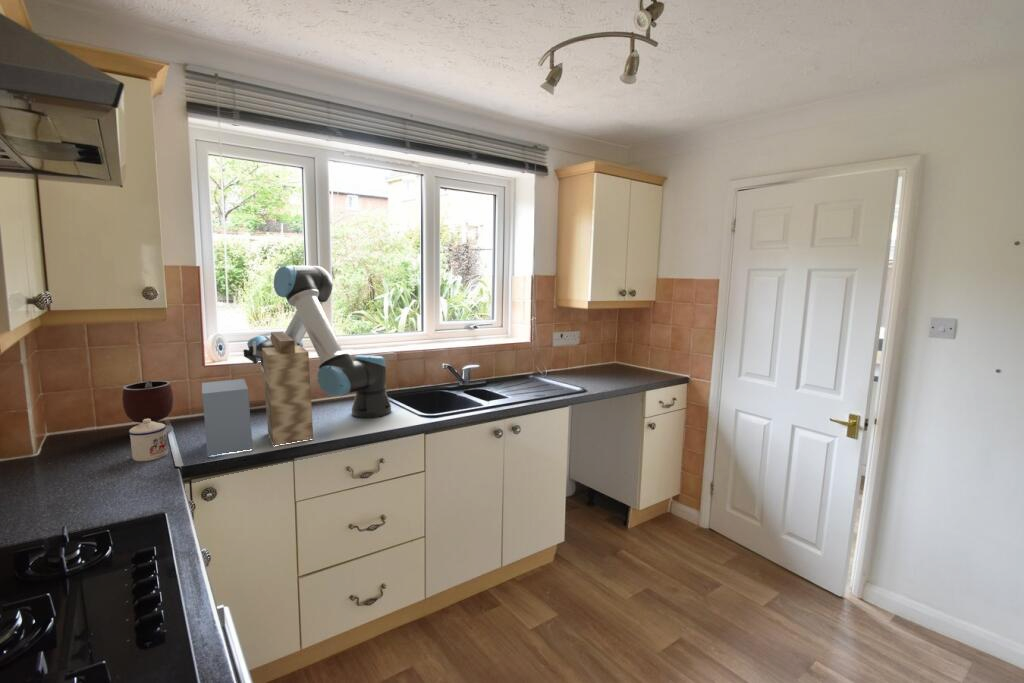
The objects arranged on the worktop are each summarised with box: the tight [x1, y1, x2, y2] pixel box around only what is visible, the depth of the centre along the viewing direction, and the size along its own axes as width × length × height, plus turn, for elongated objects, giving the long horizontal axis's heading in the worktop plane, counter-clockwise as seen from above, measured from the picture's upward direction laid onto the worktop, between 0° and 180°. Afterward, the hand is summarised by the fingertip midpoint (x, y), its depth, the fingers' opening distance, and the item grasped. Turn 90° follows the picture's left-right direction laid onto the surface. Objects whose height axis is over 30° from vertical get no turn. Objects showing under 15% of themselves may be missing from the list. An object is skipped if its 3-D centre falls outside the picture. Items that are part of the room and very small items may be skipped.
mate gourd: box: [122, 380, 174, 434], centre depth 169 cm, size 16×14×20 cm
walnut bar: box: [270, 331, 295, 354], centre depth 167 cm, size 4×26×4 cm, turn 32°
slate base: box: [201, 378, 254, 457], centre depth 157 cm, size 12×16×20 cm
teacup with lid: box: [128, 419, 169, 462], centre depth 150 cm, size 12×9×12 cm
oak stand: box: [262, 345, 314, 446], centre depth 165 cm, size 12×16×30 cm
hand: (275, 342), depth 179 cm, fingers open, 13 cm apart
